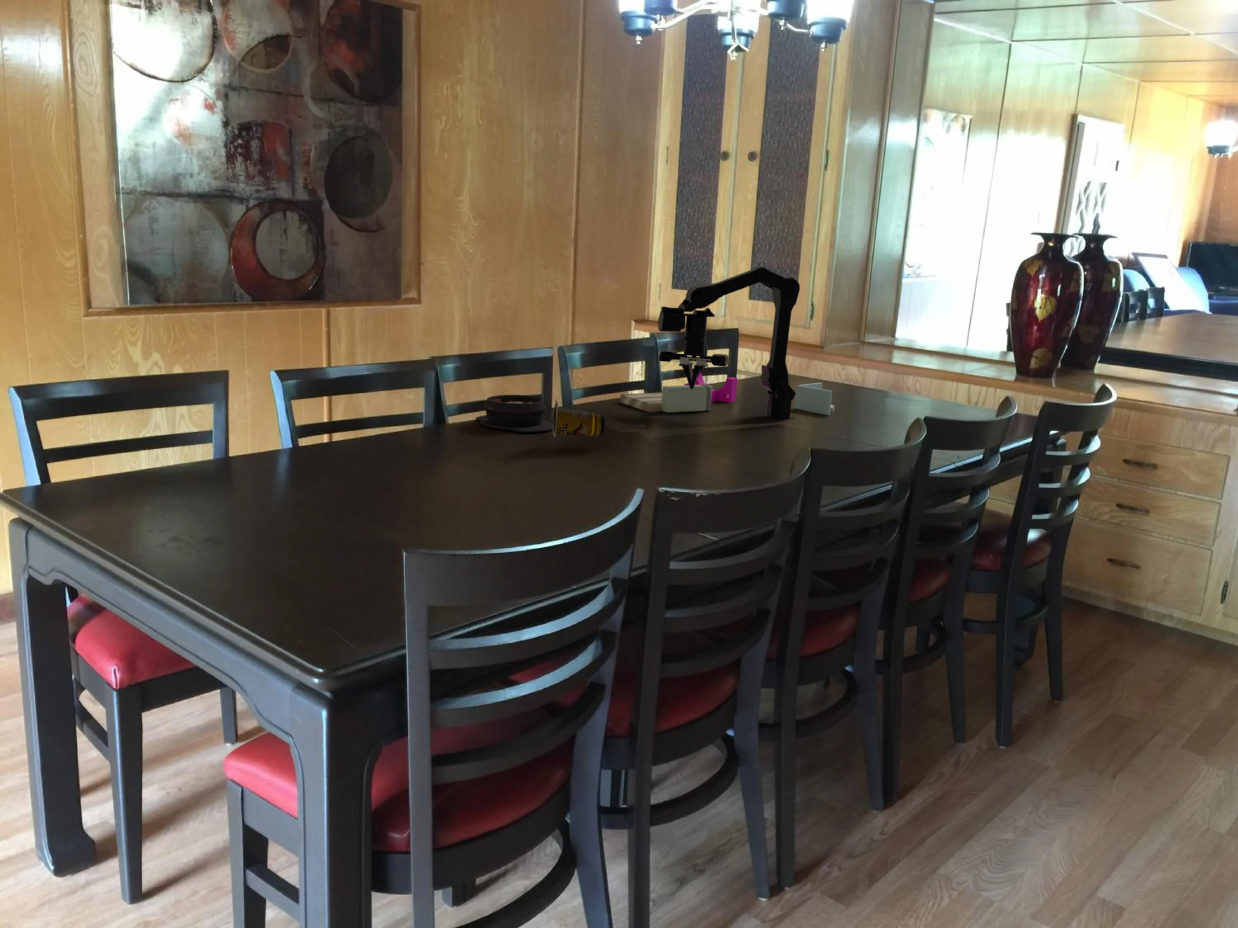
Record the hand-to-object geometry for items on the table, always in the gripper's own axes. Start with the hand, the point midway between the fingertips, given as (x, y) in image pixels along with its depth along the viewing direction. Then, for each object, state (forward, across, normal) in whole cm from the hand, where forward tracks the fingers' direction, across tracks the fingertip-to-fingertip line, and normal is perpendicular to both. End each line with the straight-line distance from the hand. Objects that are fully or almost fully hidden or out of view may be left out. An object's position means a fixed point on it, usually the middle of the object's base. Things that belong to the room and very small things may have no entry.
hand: (691, 388), depth 271 cm
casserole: (+12, +42, +27) cm, 51 cm away
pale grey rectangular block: (+8, -2, -10) cm, 13 cm away
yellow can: (+3, +24, +47) cm, 53 cm away
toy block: (+8, 0, -32) cm, 33 cm away
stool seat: (+7, +10, -11) cm, 17 cm away
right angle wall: (+8, -34, -31) cm, 47 cm away
